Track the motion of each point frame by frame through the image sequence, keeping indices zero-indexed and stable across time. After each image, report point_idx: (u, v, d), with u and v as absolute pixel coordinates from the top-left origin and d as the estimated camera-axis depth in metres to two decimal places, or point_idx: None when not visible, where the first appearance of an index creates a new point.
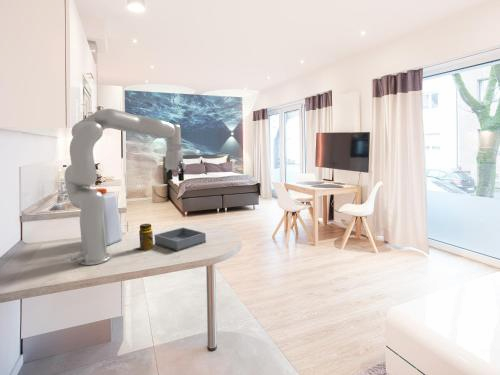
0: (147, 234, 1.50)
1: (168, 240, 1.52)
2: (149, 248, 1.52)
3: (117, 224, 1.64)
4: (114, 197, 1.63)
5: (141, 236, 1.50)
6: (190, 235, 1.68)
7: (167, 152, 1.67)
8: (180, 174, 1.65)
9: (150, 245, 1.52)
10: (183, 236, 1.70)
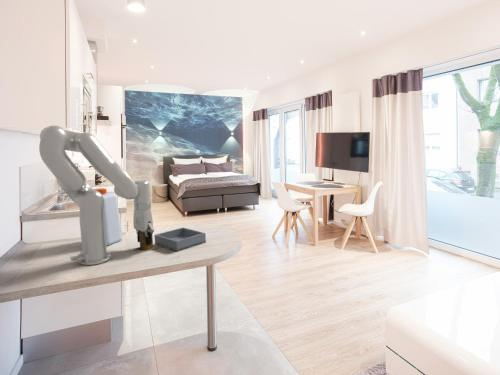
0: None
1: (168, 240, 1.52)
2: (149, 248, 1.52)
3: (117, 224, 1.64)
4: (114, 197, 1.63)
5: (141, 236, 1.50)
6: (190, 235, 1.68)
7: (135, 211, 1.50)
8: (147, 237, 1.49)
9: (150, 245, 1.52)
10: (183, 236, 1.70)
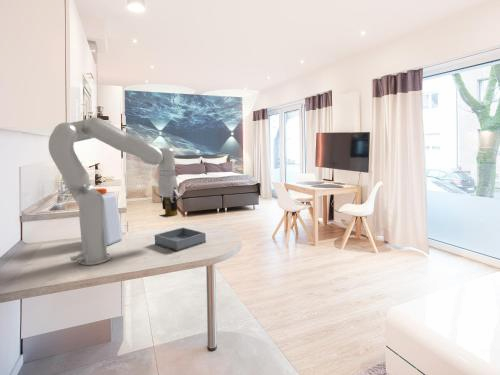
0: None
1: (168, 240, 1.52)
2: (174, 214, 1.56)
3: (117, 224, 1.64)
4: (114, 197, 1.63)
5: (166, 202, 1.54)
6: (190, 235, 1.68)
7: (160, 178, 1.54)
8: (173, 203, 1.53)
9: (175, 211, 1.56)
10: (183, 236, 1.70)
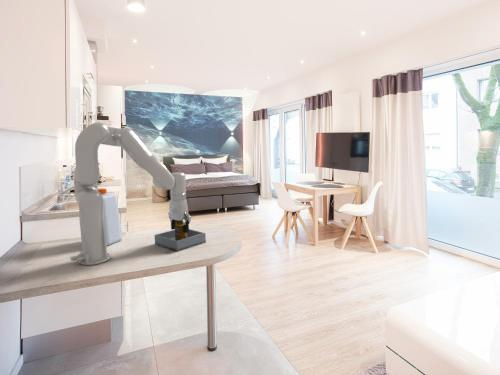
0: (182, 227, 1.58)
1: (168, 240, 1.52)
2: None
3: (117, 224, 1.64)
4: (114, 197, 1.63)
5: (177, 229, 1.58)
6: (190, 235, 1.68)
7: (171, 202, 1.58)
8: (185, 225, 1.56)
9: None
10: None
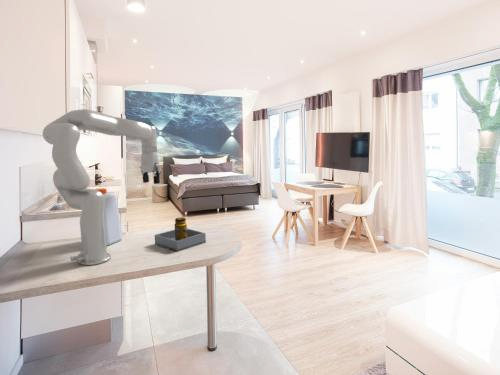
0: (182, 227, 1.58)
1: (168, 240, 1.52)
2: None
3: (117, 224, 1.64)
4: (114, 197, 1.63)
5: (177, 229, 1.58)
6: (190, 235, 1.68)
7: (142, 154, 1.62)
8: (155, 177, 1.60)
9: None
10: None
